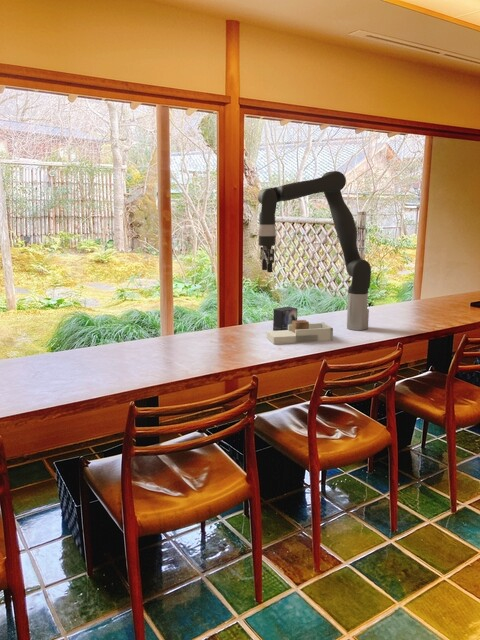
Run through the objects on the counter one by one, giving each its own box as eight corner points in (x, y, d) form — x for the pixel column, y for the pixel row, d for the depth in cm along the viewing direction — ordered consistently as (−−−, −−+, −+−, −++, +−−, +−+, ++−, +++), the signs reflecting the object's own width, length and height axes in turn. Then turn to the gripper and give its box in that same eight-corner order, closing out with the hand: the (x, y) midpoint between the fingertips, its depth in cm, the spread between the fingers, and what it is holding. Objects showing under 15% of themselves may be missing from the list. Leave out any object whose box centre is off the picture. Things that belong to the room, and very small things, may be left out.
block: (304, 330, 241) (305, 319, 240) (308, 333, 236) (308, 322, 235) (292, 331, 239) (292, 320, 238) (295, 334, 235) (295, 322, 234)
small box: (281, 332, 250) (282, 310, 248) (272, 330, 255) (272, 308, 253) (297, 329, 257) (298, 307, 255) (288, 327, 262) (288, 305, 260)
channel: (323, 334, 246) (323, 322, 245) (332, 340, 236) (332, 328, 234) (266, 337, 241) (266, 325, 240) (273, 344, 230) (273, 331, 229)
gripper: (280, 235, 232) (279, 272, 236) (270, 233, 246) (270, 269, 249) (263, 235, 231) (263, 273, 234) (254, 234, 244) (255, 269, 248)
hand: (267, 271), depth 242 cm, fingers open, 8 cm apart
